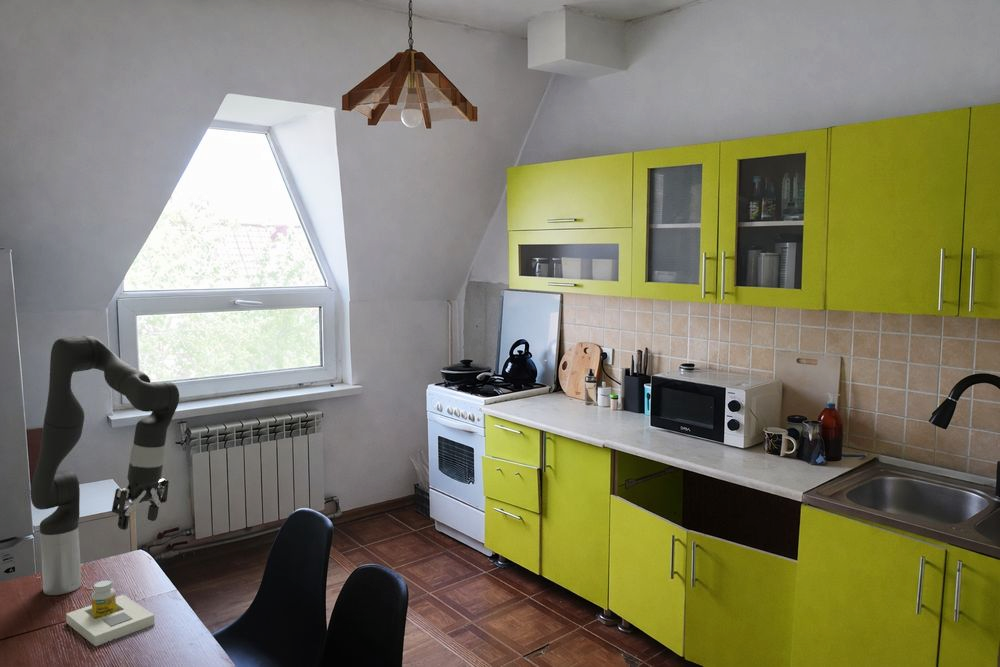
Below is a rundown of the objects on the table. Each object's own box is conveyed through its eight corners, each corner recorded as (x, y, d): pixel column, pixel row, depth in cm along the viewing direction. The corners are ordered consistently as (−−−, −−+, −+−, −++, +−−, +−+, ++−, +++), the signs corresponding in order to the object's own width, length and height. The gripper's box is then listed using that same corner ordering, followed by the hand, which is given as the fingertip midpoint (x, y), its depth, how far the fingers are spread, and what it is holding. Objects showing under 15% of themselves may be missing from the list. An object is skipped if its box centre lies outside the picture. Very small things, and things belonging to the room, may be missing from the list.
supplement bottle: (115, 612, 188) (113, 577, 187) (117, 621, 183) (115, 584, 182) (91, 618, 185) (90, 582, 184) (93, 626, 180) (91, 589, 179)
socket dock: (66, 623, 182) (66, 612, 182) (123, 603, 193) (123, 593, 193) (95, 646, 171) (94, 635, 170) (154, 624, 181) (154, 614, 181)
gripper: (158, 452, 184) (149, 513, 185) (110, 462, 171) (101, 527, 172) (180, 460, 181) (171, 521, 183) (133, 470, 168) (123, 536, 169)
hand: (137, 524), depth 177 cm, fingers open, 8 cm apart
